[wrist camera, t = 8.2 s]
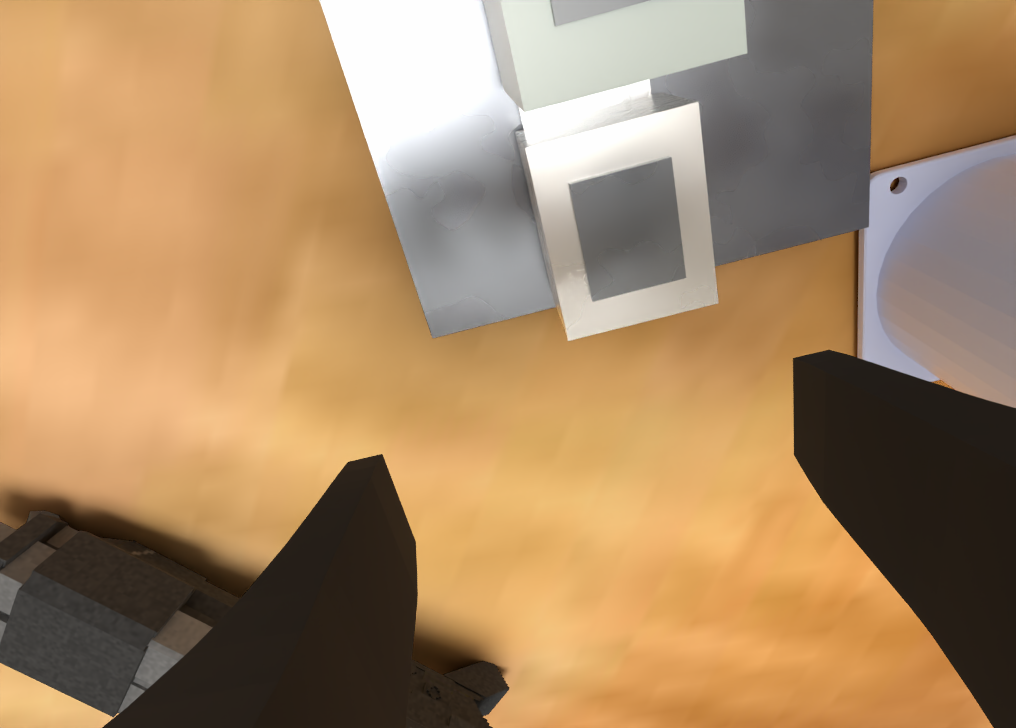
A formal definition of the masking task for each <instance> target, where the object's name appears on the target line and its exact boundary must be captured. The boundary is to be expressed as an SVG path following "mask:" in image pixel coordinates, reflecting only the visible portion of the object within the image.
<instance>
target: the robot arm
mask: <svg viewBox="0 0 1016 728" xmlns="http://www.w3.org/2000/svg"><path fill="white" fill-rule="evenodd" d="M898 177H899V184H898V186H897V187H896V188H895V189H894V190H892V191H890V185H891V183H892V181H893V180H894V179H896V178H898ZM937 380H942V381H944V382H945V383H947V384H948V385H949V386H951V387H952V388H954V389H955V390H953V389H950V388H947V387H944V386H941V385H938V384H935V383H932V382H933V381H937ZM956 390H957V391H956ZM793 391H794V456H795V457H796V459H797V461H798V462H799V464H800V466H801V467H802V469H803V471H804V472H805V474H806V476H807V478H808V479H809V481H810V482H811V484H812V486H813V487H814V489H815V490H816V492H817V493H818V495H819V496H820V498H821V500H822V501H823V503H824V504H825V505H826V506H827V508H828V509H829V510H830V511H831V513H832V514H833V515H834V516H835V518H836V519H837V520H838V521H839V522H840V524H841V525H842V526H843V527H844V528H845V530H846V531H847V532H848V533H849V535H850V536H851V537H852V538H853V539H854V541H855V542H856V543H857V544H858V545H859V547H860V548H861V549H862V550H863V551H864V553H865V554H866V555H867V556H868V557H869V559H870V560H871V561H872V562H873V563H874V564H875V566H876V567H877V568H878V569H879V570H880V572H881V573H882V574H883V575H884V576H885V578H886V579H887V580H888V581H889V582H890V584H891V585H892V586H893V587H894V588H895V590H896V591H897V592H898V593H899V594H900V596H901V597H902V598H903V599H904V600H905V602H906V603H907V604H908V605H909V606H910V607H911V609H912V610H913V611H914V613H915V614H916V615H917V616H918V618H919V619H920V620H921V622H922V623H923V624H924V626H925V627H926V628H927V629H928V631H929V632H930V633H931V635H932V636H933V638H934V639H935V640H936V642H937V643H938V645H939V646H940V648H941V649H942V651H943V652H944V654H945V655H946V657H947V658H948V660H949V661H950V662H951V664H952V665H953V667H954V668H955V670H956V671H957V673H958V674H959V676H960V677H961V679H962V680H963V682H964V683H965V684H966V686H967V687H968V689H969V690H970V692H971V693H972V695H973V696H974V698H975V699H976V701H977V703H978V704H979V706H980V707H981V709H982V710H983V712H984V713H985V715H986V716H987V718H988V720H989V721H990V723H991V724H992V726H993V727H994V728H1016V135H1014V136H1010V137H1006V138H1003V139H999V140H995V141H991V142H987V143H983V144H979V145H976V146H972V147H968V148H964V149H960V150H956V151H952V152H949V153H945V154H941V155H937V156H933V157H929V158H925V159H922V160H918V161H914V162H910V163H906V164H902V165H898V166H895V167H891V168H887V169H883V170H879V171H876V172H873V173H871V174H870V200H869V227H868V228H864V229H860V230H859V267H858V355H857V357H853V356H850V355H847V354H843V353H839V352H835V351H831V350H826V351H822V352H818V353H814V354H809V355H805V356H801V357H796V358H793ZM417 596H418V592H417V561H416V542H415V539H414V536H413V534H412V531H411V529H410V526H409V523H408V521H407V518H406V515H405V513H404V510H403V507H402V505H401V502H400V500H399V497H398V494H397V492H396V489H395V486H394V484H393V481H392V479H391V476H390V473H389V471H388V468H387V465H386V463H385V460H384V457H383V455H382V454H380V455H376V456H372V457H368V458H363V459H359V460H355V461H350V462H348V463H347V464H346V465H345V467H344V468H343V469H342V470H341V472H340V473H339V474H338V475H337V477H336V478H335V480H334V481H333V482H332V484H331V485H330V486H329V488H328V489H327V490H326V492H325V493H324V495H323V496H322V497H321V499H320V500H319V501H318V503H317V504H316V505H315V507H314V508H313V509H312V511H311V512H310V513H309V515H308V516H307V517H306V519H305V520H304V521H303V523H302V524H301V525H300V527H299V528H298V529H297V531H296V532H295V533H294V535H293V536H292V537H291V538H290V540H289V541H288V542H287V544H286V545H285V546H284V547H283V549H282V550H281V551H280V552H279V553H278V555H277V556H276V557H275V558H274V559H273V561H272V562H271V563H270V564H269V565H268V567H267V568H266V569H265V570H264V571H263V573H262V574H261V575H260V576H259V577H258V579H257V580H256V581H255V582H254V583H253V585H252V586H251V587H250V588H249V589H248V591H247V592H246V593H245V594H244V595H243V596H242V597H241V598H240V599H239V601H238V602H237V603H236V604H235V605H234V606H233V607H232V608H231V609H230V610H229V611H228V612H227V613H226V615H225V616H224V617H223V618H222V619H221V620H220V621H219V622H218V623H217V624H216V625H215V626H214V627H213V628H212V629H211V630H210V631H209V632H208V633H207V634H206V635H205V636H204V637H203V638H202V639H201V640H200V641H199V642H198V643H197V644H196V645H195V646H194V647H193V648H192V649H191V650H190V651H189V652H188V653H187V654H186V655H185V656H184V657H183V658H181V659H180V660H179V661H178V662H177V663H176V664H175V665H174V666H172V667H171V668H170V669H169V670H168V671H167V672H166V673H165V674H164V675H162V676H161V677H160V678H159V679H158V680H157V681H156V682H155V683H154V684H152V685H151V686H150V687H149V688H148V689H147V690H146V691H145V692H144V693H142V694H141V695H140V696H139V697H138V698H137V699H136V700H135V701H134V702H132V703H131V704H130V705H129V706H128V707H127V708H126V709H124V710H123V711H122V712H121V713H120V714H118V715H117V716H116V717H115V718H114V719H112V720H111V721H110V722H109V723H107V724H106V725H105V726H104V727H103V728H406V715H407V704H408V694H409V684H410V673H411V663H412V652H413V642H414V631H415V620H416V609H417Z"/></svg>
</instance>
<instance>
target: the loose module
mask: <svg viewBox="0 0 1016 728" xmlns="http://www.w3.org/2000/svg"><path fill="white" fill-rule="evenodd" d="M483 1H484V6H485V10H486V15H487V19H488V23H489V28H490V32H491V37H492V41H493V45H494V50H495V54H496V59H497V63H498V67H499V72H500V76H501V81H502V85H503V90H504V91H505V92H506V93H507V95H508V96H509V97H510V98H511V99H512V100H513V101H514V102H515V103H516V104H517V105H518V106H519V107H520V109H521V110H522V111H523V112H524V113H526V112H530V111H533V110H537V109H541V108H545V107H548V106H552V105H556V104H560V103H563V102H567V101H571V100H575V99H578V98H582V97H586V96H589V95H593V94H597V93H601V92H604V91H608V90H612V89H616V88H619V87H623V86H627V85H631V84H634V83H638V82H642V81H645V80H649V79H653V78H657V77H660V76H664V75H668V74H672V73H675V72H679V71H683V70H686V69H690V68H694V67H698V66H701V65H705V64H709V63H713V62H716V61H720V60H724V59H728V58H731V57H735V56H739V55H742V54H746V53H747V39H746V23H745V6H744V0H483Z"/></svg>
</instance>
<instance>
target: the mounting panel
mask: <svg viewBox="0 0 1016 728" xmlns="http://www.w3.org/2000/svg"><path fill="white" fill-rule="evenodd" d="M320 3H321V6H322V9H323V12H324V15H325V18H326V21H327V24H328V27H329V30H330V33H331V36H332V39H333V42H334V45H335V48H336V51H337V54H338V57H339V60H340V63H341V66H342V69H343V72H344V75H345V78H346V81H347V84H348V87H349V90H350V93H351V96H352V99H353V102H354V105H355V108H356V111H357V114H358V117H359V120H360V123H361V126H362V129H363V132H364V135H365V138H366V141H367V144H368V147H369V150H370V153H371V156H372V159H373V162H374V165H375V168H376V171H377V174H378V176H379V179H380V182H381V185H382V188H383V191H384V194H385V197H386V200H387V203H388V206H389V209H390V212H391V215H392V218H393V221H394V224H395V227H396V230H397V233H398V236H399V239H400V242H401V245H402V248H403V251H404V254H405V257H406V260H407V263H408V266H409V269H410V272H411V275H412V278H413V281H414V284H415V287H416V290H417V293H418V296H419V299H420V302H421V305H422V308H423V311H424V314H425V317H426V320H427V323H428V326H429V329H430V332H431V335H432V338H436V337H440V336H444V335H448V334H452V333H456V332H460V331H464V330H468V329H471V328H475V327H479V326H483V325H487V324H491V323H495V322H499V321H503V320H507V319H511V318H515V317H519V316H522V315H526V314H530V313H534V312H538V311H542V310H546V309H550V308H554V307H556V308H557V311H558V314H559V317H560V319H561V322H562V325H563V328H564V330H565V333H566V336H567V339H568V341H571V340H575V339H579V338H583V337H587V336H591V335H594V334H598V333H602V332H606V331H610V330H614V329H618V328H622V327H626V326H630V325H634V324H638V323H642V322H646V321H650V320H654V319H658V318H662V317H666V316H670V315H674V314H678V313H682V312H686V311H690V310H694V309H698V308H702V307H706V306H710V305H714V304H718V293H717V283H716V273H715V266H719V265H722V264H726V263H730V262H734V261H738V260H742V259H746V258H750V257H754V256H758V255H762V254H766V253H770V252H773V251H777V250H781V249H785V248H789V247H793V246H797V245H801V244H805V243H809V242H813V241H817V240H821V239H824V238H828V237H832V236H836V235H840V234H844V233H848V232H852V231H856V230H860V229H864V228H868V227H869V200H870V147H871V94H872V41H873V0H744V6H745V23H746V39H747V53H746V54H742V55H739V56H735V57H731V58H728V59H724V60H720V61H716V62H713V63H709V64H705V65H701V66H698V67H694V68H690V69H686V70H683V71H679V72H675V73H672V74H668V75H664V76H660V77H657V78H653V79H649V80H645V81H642V82H638V83H634V84H631V85H627V86H623V87H619V88H616V89H612V90H608V91H604V92H601V93H597V94H593V95H589V96H586V97H582V98H578V99H575V100H571V101H567V102H563V103H560V104H556V105H552V106H548V107H545V108H541V109H537V110H533V111H530V112H526V113H524V112H523V111H522V110H521V109H520V107H519V106H518V105H517V104H516V103H515V102H514V101H513V100H512V99H511V98H510V97H509V96H508V95H507V93H506V92H505V91H504V90H503V85H502V81H501V76H500V72H499V67H498V63H497V59H496V54H495V50H494V45H493V41H492V37H491V32H490V28H489V23H488V19H487V15H486V10H485V6H484V1H483V0H320Z"/></svg>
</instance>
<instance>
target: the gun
mask: <svg viewBox="0 0 1016 728" xmlns="http://www.w3.org/2000/svg"><path fill="white" fill-rule="evenodd" d="M68 525H69V523H67V522H65V521H63V520H61V519H59V515H56V514H53V513H50V512H47V511H30V513H29V516H28V519H27V523H26V524H24V525H23V526H22V527H20V528H19V529H18V530H15V529H13V528H11V527H9V526H7V525H5V524H3V523H1V522H0V663H2V664H4V665H6V666H8V667H10V668H12V669H14V670H17V671H19V672H21V673H23V674H25V675H27V676H29V677H31V678H33V679H35V680H37V681H39V682H41V683H44V684H46V685H48V686H50V687H52V688H54V689H56V690H58V691H60V692H62V693H64V694H66V695H68V696H71V697H73V698H75V699H77V700H79V701H81V702H83V703H85V704H87V705H89V706H91V707H93V708H95V709H98V710H100V711H102V712H104V713H106V714H108V715H110V716H112V717H114V716H115V715H116V714H117V713H121V712H122V711H123V710H124V709H126V708H127V707H128V706H129V705H130V704H131V703H132V702H134V701H135V700H136V699H137V698H138V697H139V696H140V695H141V694H142V693H144V692H145V691H146V690H147V689H148V688H149V687H150V686H151V685H152V684H154V683H155V682H156V681H157V680H158V679H159V678H160V677H161V676H162V675H164V674H165V673H166V672H167V671H168V670H169V669H170V668H171V667H172V666H174V665H175V664H176V663H177V662H178V661H179V660H180V659H181V658H183V657H184V656H185V655H186V654H187V653H188V652H189V651H190V650H191V649H192V648H193V647H194V646H195V645H196V644H197V643H198V642H199V641H200V640H201V639H202V638H203V637H204V636H205V635H206V634H207V633H208V632H209V631H210V630H211V629H212V628H213V627H214V626H215V625H216V624H217V623H218V622H219V621H220V620H221V619H222V618H223V617H224V616H225V615H226V613H227V612H228V611H229V610H230V609H231V608H232V607H233V606H234V605H235V604H236V603H237V602H238V601H239V599H240V598H238V597H236V596H234V595H232V594H230V593H228V592H226V591H224V590H222V589H220V588H218V587H216V586H215V585H213V584H211V583H209V582H207V581H206V579H207V578H205V577H203V576H201V575H199V574H197V573H195V572H193V571H191V570H189V569H187V568H186V567H184V566H182V565H180V564H178V563H176V562H174V561H172V560H170V559H168V558H166V557H164V556H162V555H160V554H158V553H156V552H154V551H152V550H150V549H148V548H147V547H145V546H143V545H141V544H139V543H137V542H136V541H135V540H133V541H130V540H129V541H127V540H122V539H121V540H118V539H116V540H115V539H110V538H108V539H107V538H102V537H97V536H95V535H93V534H91V533H89V532H86V531H82V530H80V531H77V530H75V529H73V528H71V527H69V526H68ZM498 670H499V669H497V666H495V665H494V664H491V663H488V662H485V661H482V662H479V663H478V662H477V664H476V663H475V664H472V665H470V666H467V667H465V668H462V669H461V668H460V669H457V671H456V670H455V671H452V672H449V673H447V674H444V675H441V674H439V673H437V672H436V671H434V670H432V669H430V668H428V667H426V666H424V665H422V664H420V663H418V662H416V661H414V660H412V663H411V673H410V684H409V694H408V704H407V715H406V728H492V727H490V726H489V723H488V722H487V719H485V718H483V716H484V715H485V716H486V715H487V714H489V713H490V712H491V710H492V709H493V708H494V707H495V706H496V704H497V703H498V702H499V701H500V700H501V698H502V697H503V696H504V695H505V694H506V692H507V691H508V690H509V687H508V686H507V684H506V681H504V678H503V677H502V675H501V674H500V672H499V671H498Z"/></svg>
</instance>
